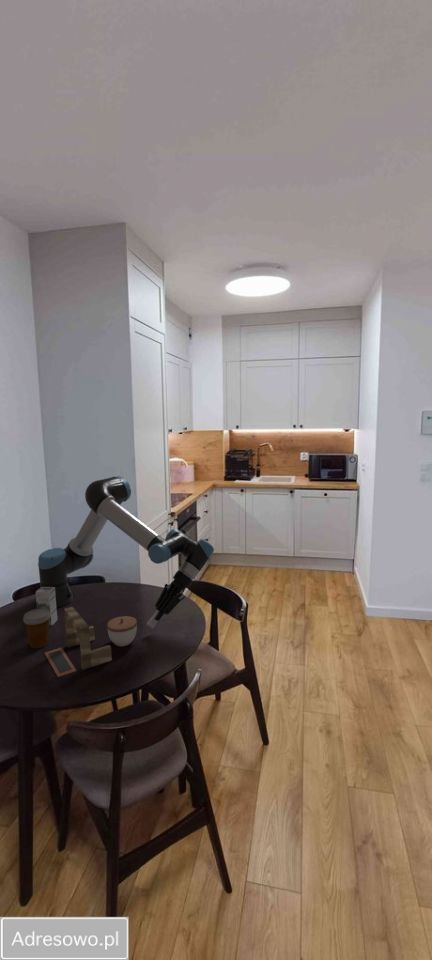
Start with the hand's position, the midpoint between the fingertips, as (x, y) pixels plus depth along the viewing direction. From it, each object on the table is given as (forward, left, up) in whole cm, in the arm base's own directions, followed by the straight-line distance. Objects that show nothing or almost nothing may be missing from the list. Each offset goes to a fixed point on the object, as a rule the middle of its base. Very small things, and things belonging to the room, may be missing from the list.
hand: (149, 626), depth 173 cm
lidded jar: (0, -11, -3) cm, 11 cm away
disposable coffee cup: (-17, -37, -3) cm, 41 cm away
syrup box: (-33, -30, -3) cm, 45 cm away
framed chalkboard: (0, -34, -3) cm, 34 cm away
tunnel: (0, -24, -3) cm, 24 cm away
